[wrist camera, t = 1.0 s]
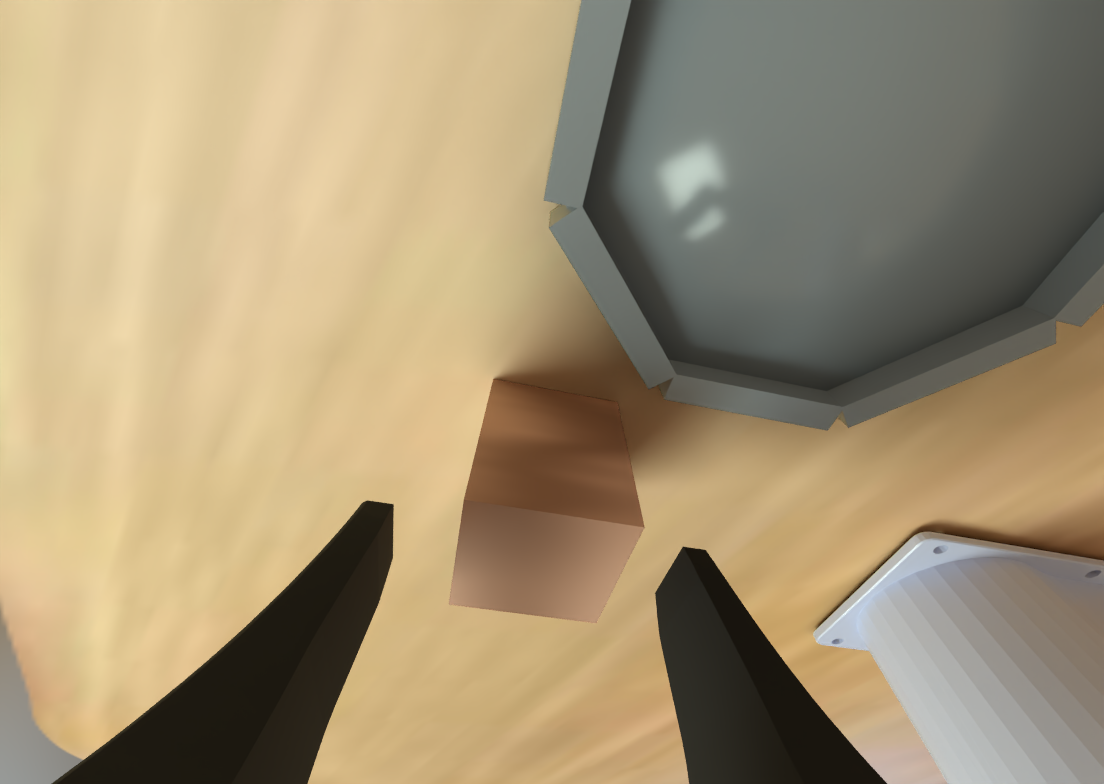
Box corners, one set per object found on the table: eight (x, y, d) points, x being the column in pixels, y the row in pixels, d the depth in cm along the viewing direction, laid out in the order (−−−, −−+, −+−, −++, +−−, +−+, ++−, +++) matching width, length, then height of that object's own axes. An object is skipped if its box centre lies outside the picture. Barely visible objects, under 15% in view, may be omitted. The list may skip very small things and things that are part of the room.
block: (617, 401, 14) (644, 527, 9) (585, 488, 16) (596, 623, 11) (493, 378, 13) (463, 499, 9) (478, 471, 15) (448, 604, 11)
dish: (1449, -220, 7) (1706, -318, 5) (912, 417, 14) (956, 455, 12) (686, -560, 5) (737, -828, 4) (517, 339, 12) (511, 370, 11)
